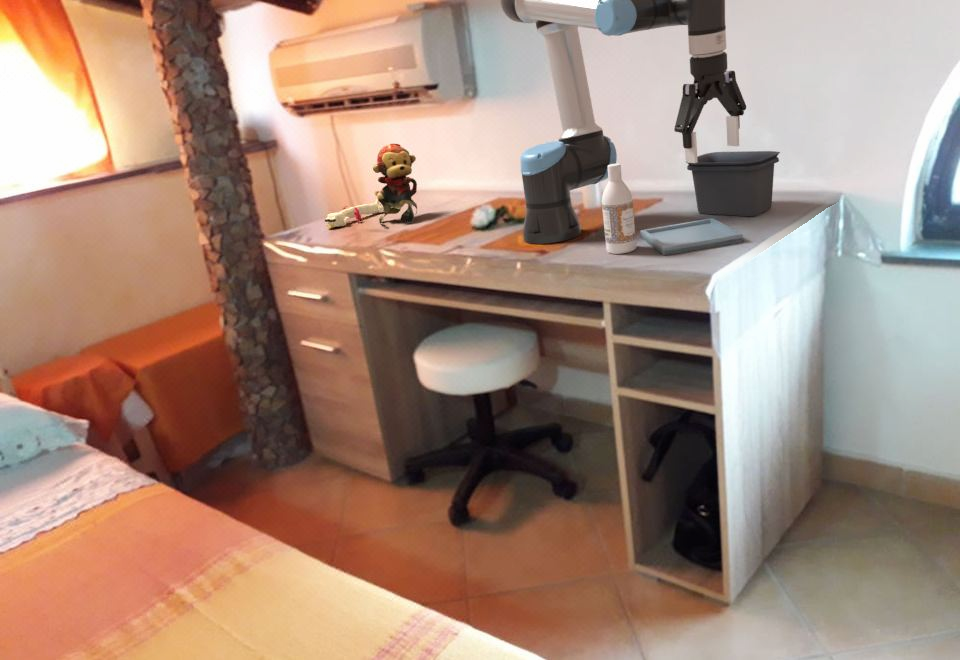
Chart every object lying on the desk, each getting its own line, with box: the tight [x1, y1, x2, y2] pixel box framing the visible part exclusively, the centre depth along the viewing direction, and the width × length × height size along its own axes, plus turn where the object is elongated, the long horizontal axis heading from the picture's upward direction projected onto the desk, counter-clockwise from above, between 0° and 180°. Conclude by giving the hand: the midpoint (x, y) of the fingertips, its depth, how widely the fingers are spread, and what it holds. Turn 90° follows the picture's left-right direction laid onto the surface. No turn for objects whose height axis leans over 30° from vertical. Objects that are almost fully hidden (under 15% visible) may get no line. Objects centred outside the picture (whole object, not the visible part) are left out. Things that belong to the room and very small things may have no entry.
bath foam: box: [601, 163, 637, 255], centre depth 179 cm, size 7×7×20 cm
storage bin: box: [685, 150, 781, 217], centre depth 198 cm, size 21×16×14 cm
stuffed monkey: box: [372, 143, 418, 224], centre depth 250 cm, size 15×17×25 cm
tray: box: [640, 217, 744, 256], centre depth 182 cm, size 18×18×2 cm
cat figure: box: [324, 190, 384, 229], centre depth 263 cm, size 10×9×25 cm
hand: (712, 153), depth 172 cm, fingers open, 13 cm apart
